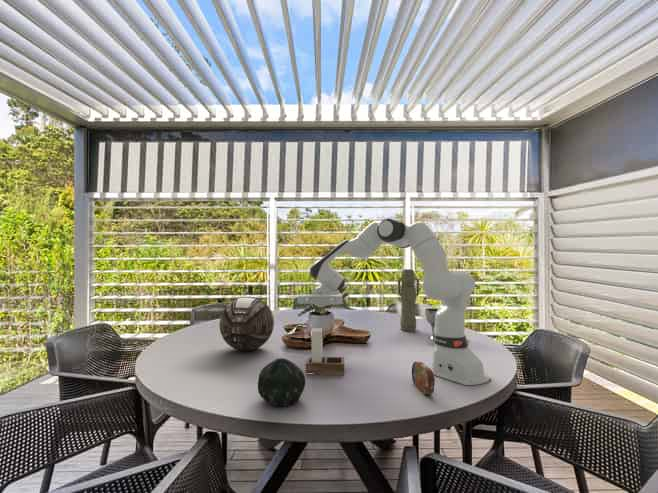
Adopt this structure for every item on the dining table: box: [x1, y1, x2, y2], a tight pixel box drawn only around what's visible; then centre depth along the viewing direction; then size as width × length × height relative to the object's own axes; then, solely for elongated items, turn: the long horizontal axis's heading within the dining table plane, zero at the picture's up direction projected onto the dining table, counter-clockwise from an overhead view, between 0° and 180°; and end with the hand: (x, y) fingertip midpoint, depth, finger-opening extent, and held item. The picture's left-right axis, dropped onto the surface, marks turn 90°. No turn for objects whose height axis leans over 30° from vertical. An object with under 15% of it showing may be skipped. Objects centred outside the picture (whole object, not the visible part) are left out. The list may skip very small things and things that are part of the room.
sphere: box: [219, 296, 275, 352], centre depth 170 cm, size 25×25×25 cm
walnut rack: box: [305, 356, 345, 375], centre depth 142 cm, size 9×15×4 cm, turn 88°
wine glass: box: [424, 307, 439, 341], centre depth 191 cm, size 8×8×15 cm
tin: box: [411, 361, 436, 395], centre depth 123 cm, size 15×3×8 cm, turn 7°
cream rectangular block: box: [310, 328, 323, 363], centre depth 142 cm, size 5×4×15 cm
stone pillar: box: [397, 268, 420, 333], centre depth 209 cm, size 9×12×35 cm
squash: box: [257, 357, 306, 407], centre depth 114 cm, size 14×15×15 cm
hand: (319, 301), depth 154 cm, fingers open, 8 cm apart
